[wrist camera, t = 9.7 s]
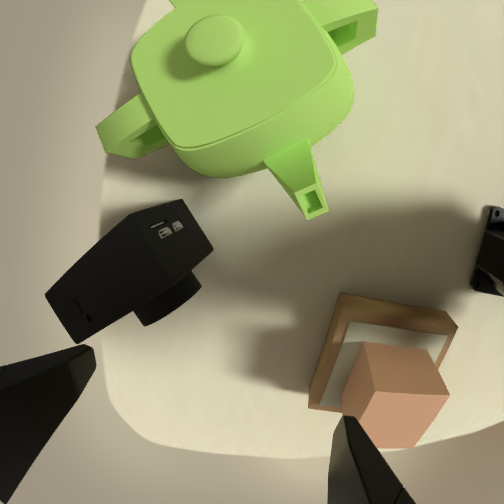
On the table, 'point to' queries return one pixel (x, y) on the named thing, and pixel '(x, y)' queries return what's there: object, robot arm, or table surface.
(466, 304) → the table surface
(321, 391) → the stand
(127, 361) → the table surface
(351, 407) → the cube
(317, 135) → the teapot
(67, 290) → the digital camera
